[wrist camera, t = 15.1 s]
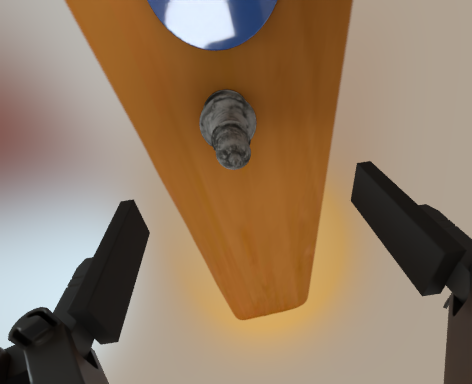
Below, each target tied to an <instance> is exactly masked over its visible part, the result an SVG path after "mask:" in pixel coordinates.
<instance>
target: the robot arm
mask: <svg viewBox="0 0 472 384" xmlns="http://www.w3.org/2000/svg"><path fill="white" fill-rule="evenodd" d="M351 202H352V203H353V204H354V206H355V207H356V208H357V210H358V211H359V212H360V213H361V215H362V216H363V218H364V219H365V220H366V221H367V223H368V224H369V226H370V227H371V228H372V230H373V231H374V232H375V234H376V235H377V236H378V238H379V239H380V240H381V242H382V243H383V244H384V246H385V247H386V248H387V250H388V251H389V252H390V254H391V255H392V256H393V258H394V259H395V260H396V262H397V263H398V265H399V266H400V267H401V268H402V270H403V271H404V272H405V274H406V275H407V277H408V278H409V279H410V280H411V282H412V283H413V284H414V286H415V287H416V289H417V290H418V291H419V293H420V294H421V295H422V296H427V295H434V294H440V293H441V292H442V290H443V288H444V287H445V285H446V286H447V287H448V288H449V289H450V290H451V291H452V293H451V295H450V297H449V298H448V299H447V301H446V302H445V304H444V308H446V309H447V307H448V306H449V314H448V328H447V329H448V330H447V343H446V358H445V372H444V384H472V239H471V238H469V237H468V236H467V235H466V234H465V233H464V232H463V231H462V230H460V229H459V228H458V227H457V226H455V224H453V223H452V222H451V221H450V220H448V219H447V218H446V217H445V216H444V215H443V214H442V213H441V212H440V211H438V210H436V209H434V208H432V207H430V206H429V205H426V204H424V205H417V204H416V203H415V202H414V201H413V200H412V199H411V198H410V197H409V196H408V195H407V194H405V193H404V192H403V191H402V190H401V189H400V188H399V187H398V186H397V185H396V184H395V183H393V182H392V181H391V180H390V179H389V178H388V177H387V176H386V175H385V174H384V173H383V172H382V171H380V170H379V169H378V168H377V167H376V166H375V165H374V164H373V163H372V162H370V161H368V162H362V163H357V167H356V173H355V179H354V185H353V190H352V197H351ZM149 234H150V232H149V230H148V228H147V226H146V224H145V222H144V220H143V218H142V216H141V214H140V212H139V210H138V208H137V206H136V204H135V202H134V200H128V201H121V202H120V204H119V206H118V208H117V210H116V212H115V214H114V217H113V218H112V220H111V222H110V224H109V226H108V228H107V231H106V233H105V235H104V237H103V239H102V241H101V243H100V245H99V247H98V249H97V251H96V253H95V255H94V257H92V258H86V259H85V260H84V261H83V262H82V263H81V264H80V265H79V266H78V268H77V269H76V271H75V273H74V275H73V276H72V279H71V280H70V282H69V284H68V287H67V288H66V289H65V291H64V293H63V295H62V297H61V299H60V301H59V303H58V304H57V306H56V308H55V310H54V312H53V313H52V312H51V311H50V310H49V309H48V308H44V307H40V308H36V309H33V310H31V311H29V312H28V313H26V314H25V315H24V316H22V317H21V318H20V319H19V320H18V321H17V322H16V323H15V325H14V326H13V327H12V329H11V331H10V332H9V336H8V340H9V341H11V342H12V343H14V344H15V345H13V346H11V347H9V348H7V349H2V348H1V347H0V384H109V383H108V381H107V378H106V376H105V374H104V371H103V369H102V367H101V365H100V363H99V360H98V358H97V356H96V354H95V351H94V350H93V349H92V348H91V347H92V343H93V341H94V339H96V340H97V341H98V342H99V343H100V344H108V343H114V342H118V341H119V337H120V333H121V330H122V327H123V323H124V320H125V316H126V313H127V309H128V306H129V303H130V299H131V296H132V292H133V289H134V285H135V282H136V279H137V275H138V271H139V268H140V265H141V261H142V258H143V254H144V251H145V247H146V244H147V241H148V237H149Z"/></svg>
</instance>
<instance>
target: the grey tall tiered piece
mask: <svg viewBox="0 0 472 384" xmlns="http://www.w3.org/2000/svg"><path fill="white" fill-rule="evenodd" d="M256 124H257V123H256V115H255V113H254V110H253V108H252V107H251V106H250V104H249V103H248V102H246V100H245V99H244V98H243V96H241V95H240V94H239V93H237V92H235V91H232V90H220V91H217V92H215V93H213V94H212V95H211V96H210V97H209V98H208V99H207V101H206V102H205V105H204V108H203V110H202V113H201V116H200V125H199V126H200V130H201V134H202V136H203V137H204V139H205V140H206V141H207V143H208V144H209V145H211V146H213V148H214V150H215V151H216V157H217V159H218V161H219V163H220V164H221V165H222V166H223V167H225V168H227V169H232V170H235V169H240V168H242V167H244V166H245V165H246V164H247V163H248V162H249V160H250V156H251V150H250V146H249V145H250V142H251V138H252V137H253V135H254V133H255V130H256Z"/></svg>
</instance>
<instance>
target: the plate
mask: <svg viewBox="0 0 472 384" xmlns="http://www.w3.org/2000/svg"><path fill="white" fill-rule="evenodd" d="M147 1H148V3H149V4H150V6H151V8H152V10H153V11H154V13H155V14H156V16H157V17H158V18H159V20H160V21H161V22H162V23H163V25H164V26H165V27H166V28H167V29H168V30H169V31H170V32H171V33H173V34H174V35H175V36H176V37H178V38H179V39H181V40H182V41H184V42H185V43H187V44H189V45H191V46H194V47H197V48H200V49H205V50H215V51H217V50H226V49H230V48H233V47H236V46H238V45H240V44H242V43H244V42H245V41H247V40H249V39H250V38H251V37H252V36H254V35H255V34H256V33H257V32H258V31H259V30H260V29H261V28H262V26H263V25H264V24H265V22H266V21H267V20H268V18H269V16H270V15H271V13H272V11H273V9H274V7H275V5H276V3H277V0H147Z"/></svg>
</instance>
